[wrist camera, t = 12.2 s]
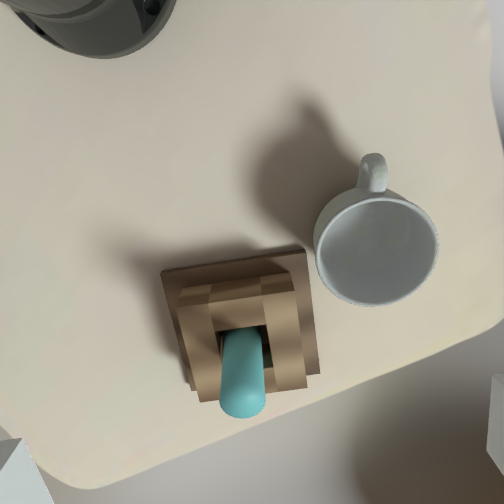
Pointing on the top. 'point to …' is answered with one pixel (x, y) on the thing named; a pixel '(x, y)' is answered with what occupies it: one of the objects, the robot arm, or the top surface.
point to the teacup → (374, 241)
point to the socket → (245, 318)
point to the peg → (242, 373)
